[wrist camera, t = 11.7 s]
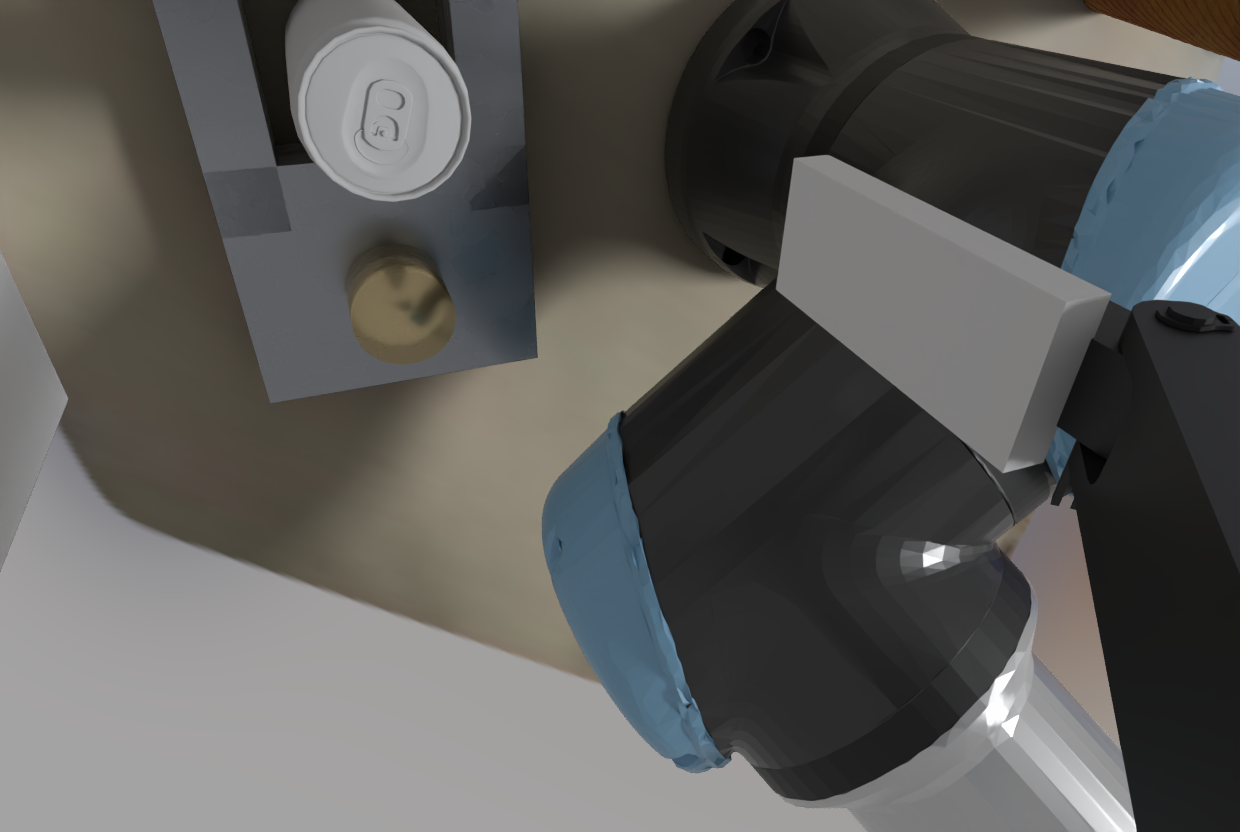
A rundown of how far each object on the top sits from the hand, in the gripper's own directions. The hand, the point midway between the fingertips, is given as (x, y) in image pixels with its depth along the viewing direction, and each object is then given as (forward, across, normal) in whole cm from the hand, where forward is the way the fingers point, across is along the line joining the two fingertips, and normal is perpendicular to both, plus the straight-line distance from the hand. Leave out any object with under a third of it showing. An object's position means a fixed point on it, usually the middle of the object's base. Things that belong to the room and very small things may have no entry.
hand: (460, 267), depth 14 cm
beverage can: (+22, 0, 0) cm, 22 cm away
